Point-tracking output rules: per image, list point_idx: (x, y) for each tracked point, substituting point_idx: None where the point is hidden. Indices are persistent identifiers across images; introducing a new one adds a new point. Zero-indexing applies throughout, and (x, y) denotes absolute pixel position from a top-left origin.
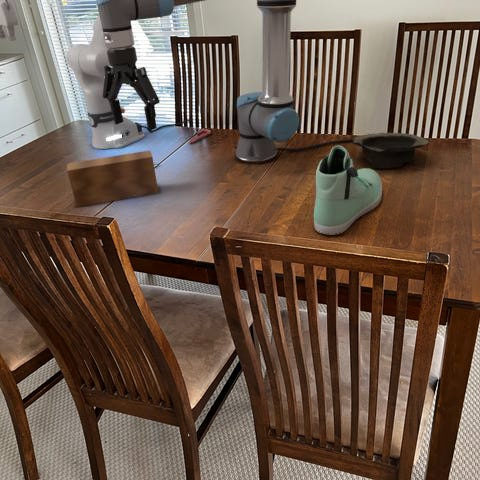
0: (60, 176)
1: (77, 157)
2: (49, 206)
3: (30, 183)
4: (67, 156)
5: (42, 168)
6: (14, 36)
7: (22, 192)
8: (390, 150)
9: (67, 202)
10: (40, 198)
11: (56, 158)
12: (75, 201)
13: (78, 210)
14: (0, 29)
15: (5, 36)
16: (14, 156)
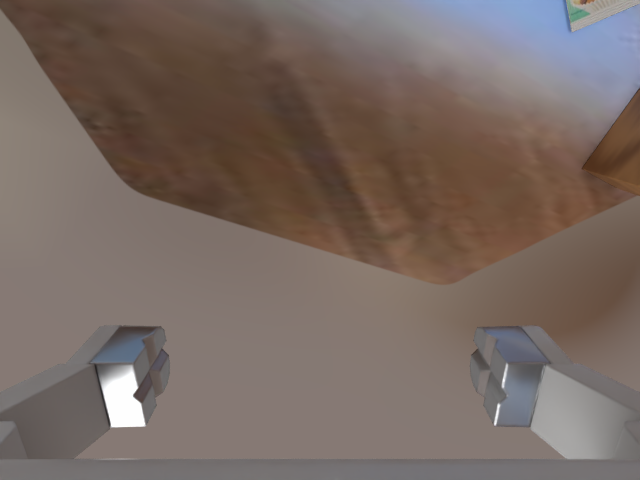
0: (412, 136)
1: (312, 27)
2: (552, 228)
3: (387, 209)
4: (276, 47)
5: (311, 147)
6: (556, 353)
7: (423, 242)
8: None
9: (573, 192)
10: (494, 226)
11: (265, 82)
12: (627, 191)
13: None
14: (46, 422)
15: (155, 336)
16: (143, 167)
